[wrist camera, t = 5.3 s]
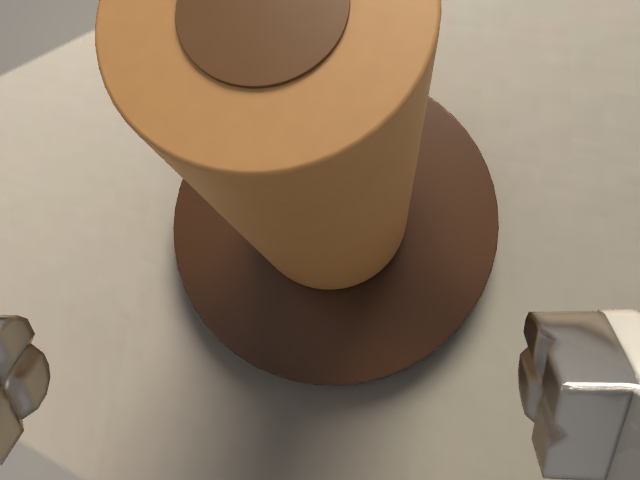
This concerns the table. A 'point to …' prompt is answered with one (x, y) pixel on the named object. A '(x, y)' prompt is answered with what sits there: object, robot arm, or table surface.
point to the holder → (359, 300)
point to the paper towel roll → (283, 116)
